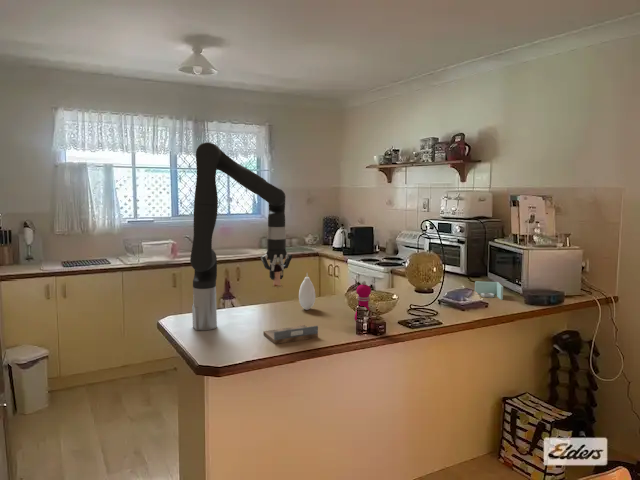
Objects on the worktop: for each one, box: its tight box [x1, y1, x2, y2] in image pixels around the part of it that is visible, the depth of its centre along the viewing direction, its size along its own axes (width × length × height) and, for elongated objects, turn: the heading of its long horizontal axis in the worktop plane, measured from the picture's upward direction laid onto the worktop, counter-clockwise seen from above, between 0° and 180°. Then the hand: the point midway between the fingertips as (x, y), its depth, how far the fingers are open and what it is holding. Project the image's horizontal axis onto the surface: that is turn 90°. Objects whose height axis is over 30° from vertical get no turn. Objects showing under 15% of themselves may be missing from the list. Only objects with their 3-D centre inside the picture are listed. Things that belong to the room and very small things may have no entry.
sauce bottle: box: [298, 273, 316, 311], centre depth 229 cm, size 8×8×18 cm
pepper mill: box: [354, 280, 372, 322], centre depth 200 cm, size 7×7×20 cm
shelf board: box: [262, 324, 319, 345], centre depth 190 cm, size 18×12×2 cm, turn 117°
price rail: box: [274, 325, 319, 340], centre depth 185 cm, size 18×1×3 cm, turn 117°
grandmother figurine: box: [272, 257, 284, 289], centre depth 200 cm, size 8×4×13 cm, turn 58°
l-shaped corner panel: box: [474, 280, 504, 301], centre depth 257 cm, size 12×12×8 cm
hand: (276, 278), depth 200 cm, fingers closed on grandmother figurine, 3 cm apart
